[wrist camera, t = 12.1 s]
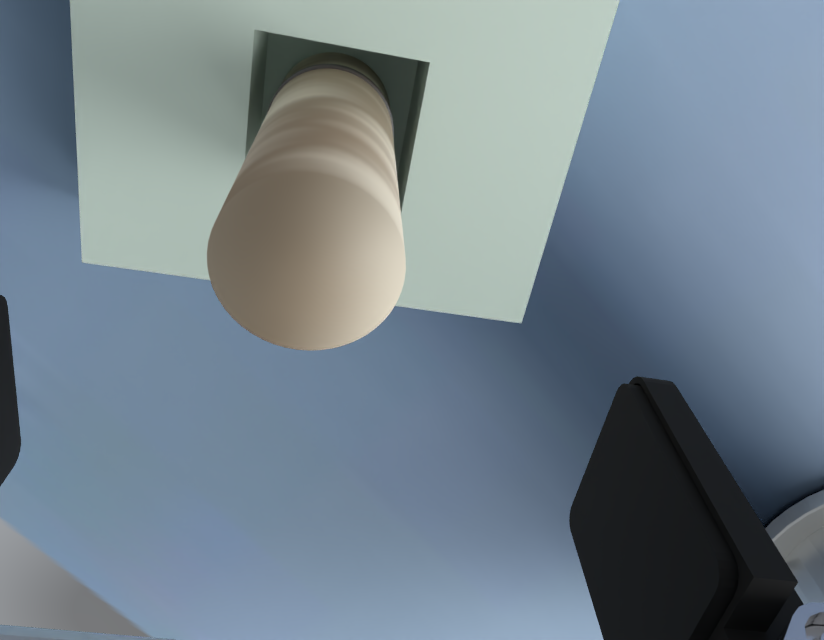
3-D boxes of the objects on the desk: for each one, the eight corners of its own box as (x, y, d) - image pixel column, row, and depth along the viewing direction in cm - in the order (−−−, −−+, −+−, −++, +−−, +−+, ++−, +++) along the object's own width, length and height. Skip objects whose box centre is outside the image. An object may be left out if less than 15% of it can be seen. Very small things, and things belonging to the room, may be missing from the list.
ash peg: (399, 54, 26) (426, 187, 14) (380, 163, 28) (389, 363, 16) (285, 33, 25) (208, 152, 13) (274, 145, 27) (200, 339, 15)
